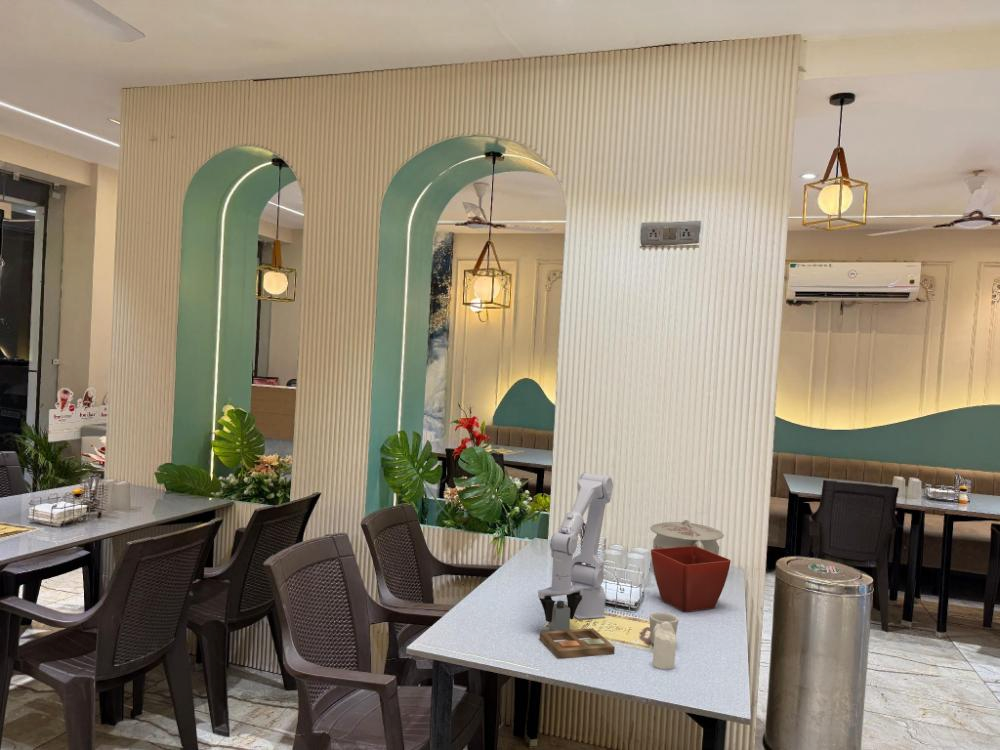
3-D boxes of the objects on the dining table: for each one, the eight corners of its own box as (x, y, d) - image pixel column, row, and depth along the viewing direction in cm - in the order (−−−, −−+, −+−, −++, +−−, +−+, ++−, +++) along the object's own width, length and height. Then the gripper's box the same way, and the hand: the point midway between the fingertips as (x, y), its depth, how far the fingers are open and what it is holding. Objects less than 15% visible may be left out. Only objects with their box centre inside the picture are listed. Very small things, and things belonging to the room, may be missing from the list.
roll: (669, 615, 201) (682, 623, 196) (666, 659, 201) (679, 668, 196) (650, 618, 198) (663, 625, 193) (648, 662, 199) (660, 671, 193)
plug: (563, 627, 222) (564, 598, 222) (569, 632, 218) (570, 603, 218) (549, 628, 221) (550, 599, 221) (554, 633, 216) (556, 604, 216)
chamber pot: (665, 559, 304) (667, 509, 304) (731, 574, 288) (734, 520, 288) (635, 574, 281) (637, 519, 281) (705, 590, 265) (708, 532, 265)
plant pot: (682, 617, 236) (685, 564, 236) (646, 598, 253) (649, 548, 253) (729, 611, 244) (732, 560, 243) (692, 593, 261) (694, 545, 261)
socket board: (592, 635, 217) (593, 626, 217) (614, 653, 203) (614, 644, 203) (539, 639, 212) (539, 630, 211) (558, 658, 198) (558, 649, 198)
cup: (667, 655, 204) (669, 627, 204) (640, 648, 208) (641, 620, 208) (680, 644, 213) (682, 616, 213) (653, 637, 217) (655, 610, 217)
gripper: (574, 568, 226) (572, 612, 226) (533, 572, 219) (531, 618, 219) (588, 574, 220) (585, 620, 220) (546, 579, 213) (543, 626, 213)
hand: (559, 619), depth 219 cm, fingers open, 7 cm apart
